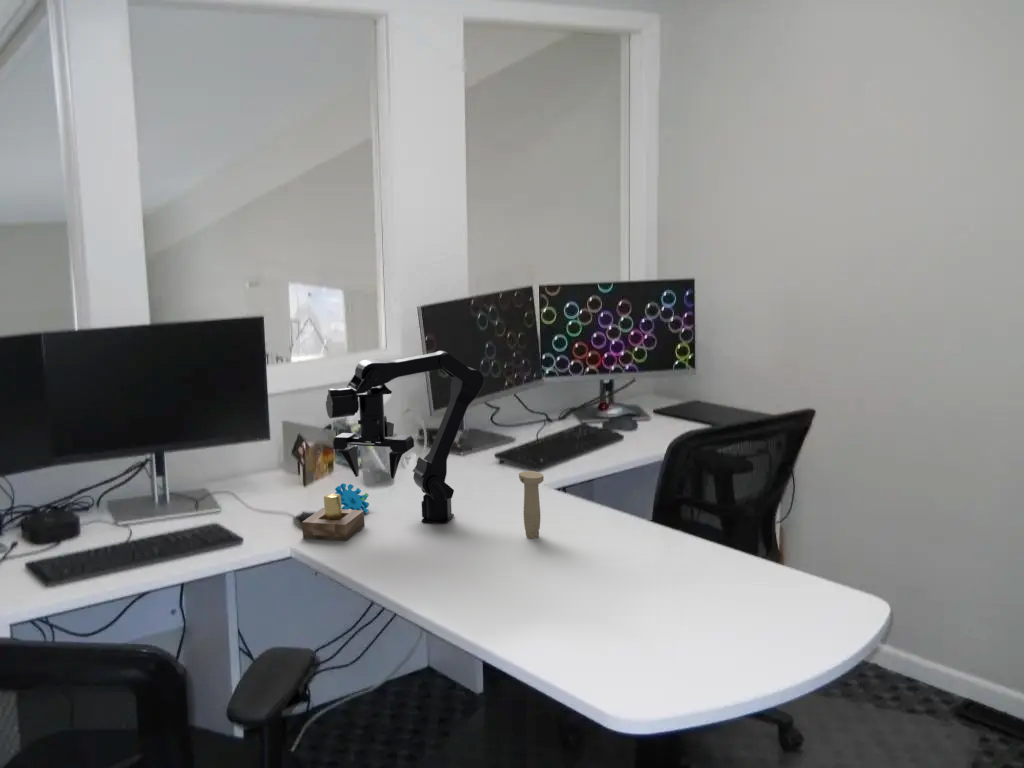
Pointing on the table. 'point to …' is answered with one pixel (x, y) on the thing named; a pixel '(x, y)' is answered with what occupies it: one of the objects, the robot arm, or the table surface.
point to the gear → (352, 498)
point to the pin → (333, 507)
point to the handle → (531, 502)
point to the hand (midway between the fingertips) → (374, 477)
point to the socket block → (333, 525)
